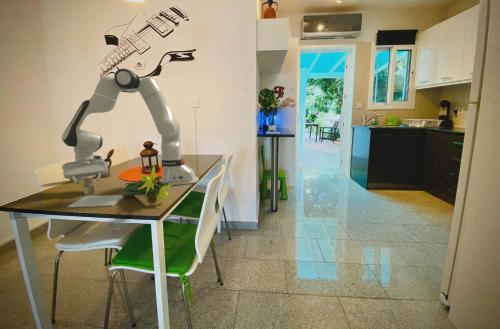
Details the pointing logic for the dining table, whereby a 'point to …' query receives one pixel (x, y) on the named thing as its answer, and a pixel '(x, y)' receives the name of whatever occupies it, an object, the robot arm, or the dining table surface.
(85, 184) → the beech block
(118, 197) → the grey-blue mat
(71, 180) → the canned food
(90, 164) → the robot arm
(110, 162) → the wooden mug
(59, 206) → the dining table surface
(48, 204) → the dining table surface
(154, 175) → the daffodil flowers
